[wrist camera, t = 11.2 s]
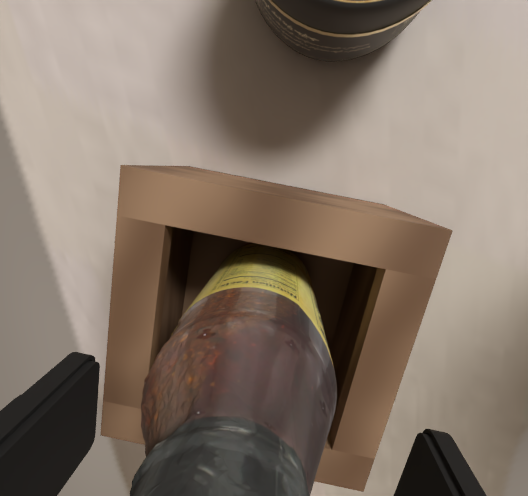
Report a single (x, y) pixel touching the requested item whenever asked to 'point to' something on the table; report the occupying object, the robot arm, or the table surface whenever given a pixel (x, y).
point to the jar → (338, 24)
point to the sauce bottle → (241, 386)
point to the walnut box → (320, 271)
